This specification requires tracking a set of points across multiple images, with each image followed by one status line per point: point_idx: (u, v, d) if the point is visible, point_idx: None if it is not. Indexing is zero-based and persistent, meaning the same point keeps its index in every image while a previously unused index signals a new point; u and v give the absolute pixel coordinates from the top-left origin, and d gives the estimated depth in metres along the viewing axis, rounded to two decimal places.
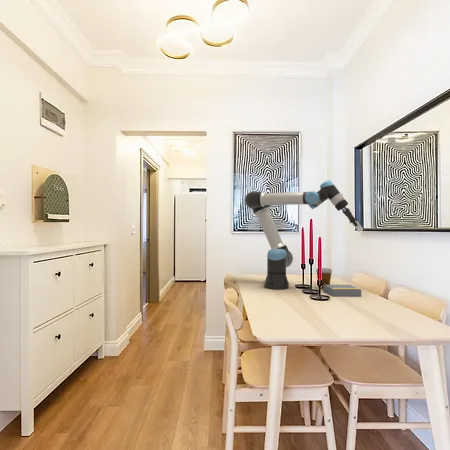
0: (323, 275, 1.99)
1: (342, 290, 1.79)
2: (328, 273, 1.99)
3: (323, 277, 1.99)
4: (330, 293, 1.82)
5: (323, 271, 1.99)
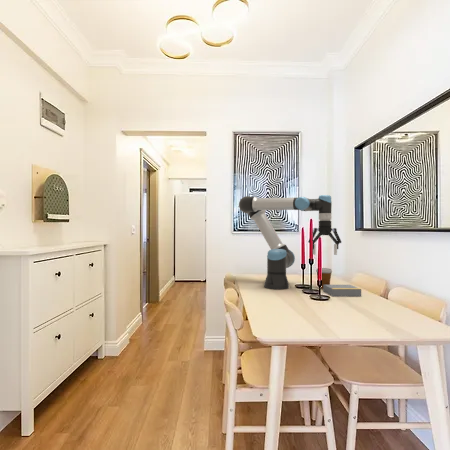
0: (323, 275, 1.99)
1: (342, 290, 1.79)
2: (328, 273, 1.99)
3: (323, 277, 1.99)
4: (330, 293, 1.82)
5: (323, 271, 1.99)
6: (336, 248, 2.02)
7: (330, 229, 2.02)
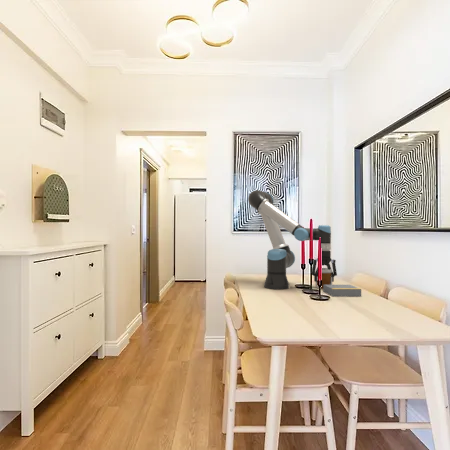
0: (323, 275, 1.99)
1: (342, 290, 1.79)
2: (328, 273, 1.99)
3: (323, 277, 1.99)
4: (330, 293, 1.82)
5: (323, 271, 1.99)
6: (331, 281, 2.02)
7: (329, 259, 2.02)
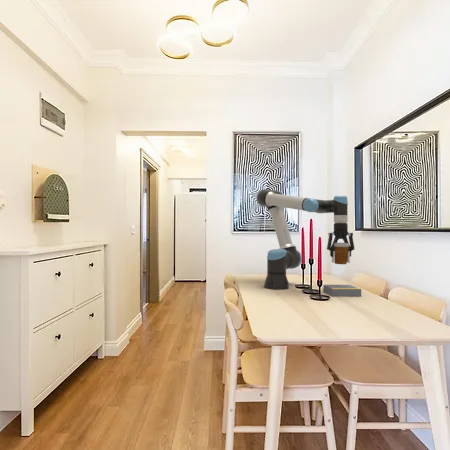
0: (340, 249, 1.84)
1: (342, 290, 1.79)
2: (345, 247, 1.84)
3: (340, 251, 1.84)
4: (330, 293, 1.82)
5: (340, 245, 1.84)
6: (349, 255, 1.87)
7: (346, 232, 1.87)
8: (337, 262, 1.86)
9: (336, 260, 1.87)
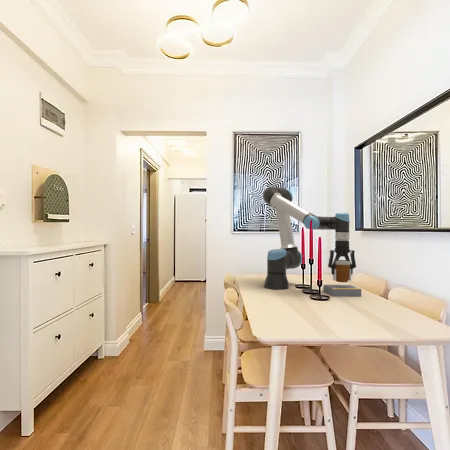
0: (341, 267, 1.83)
1: (342, 290, 1.79)
2: (347, 265, 1.82)
3: (341, 269, 1.83)
4: (330, 293, 1.82)
5: (341, 263, 1.82)
6: (350, 273, 1.85)
7: (348, 250, 1.86)
8: (338, 280, 1.84)
9: (337, 278, 1.85)
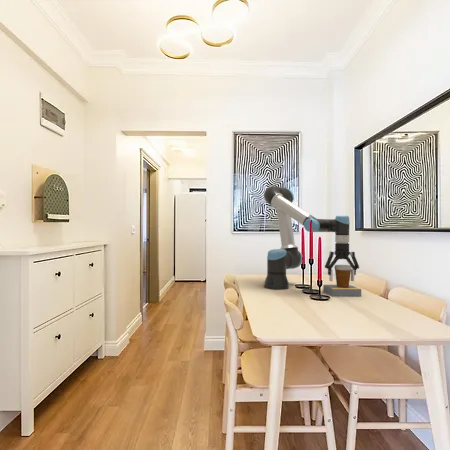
0: (342, 272, 1.83)
1: (342, 290, 1.79)
2: (348, 270, 1.83)
3: (342, 274, 1.83)
4: (330, 293, 1.82)
5: (342, 268, 1.82)
6: (353, 274, 1.86)
7: (348, 252, 1.86)
8: (339, 285, 1.85)
9: (338, 283, 1.85)
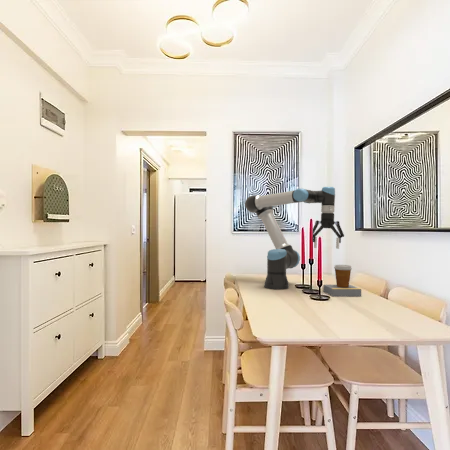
0: (342, 272, 1.83)
1: (342, 290, 1.79)
2: (348, 270, 1.83)
3: (342, 274, 1.83)
4: (330, 293, 1.82)
5: (342, 268, 1.83)
6: (338, 242, 1.96)
7: (333, 222, 1.96)
8: (339, 285, 1.85)
9: (338, 283, 1.85)
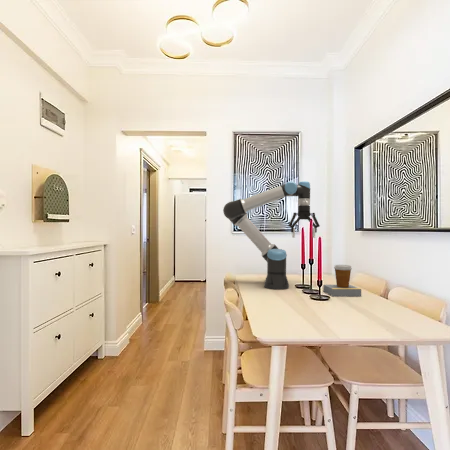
0: (342, 272, 1.83)
1: (342, 290, 1.79)
2: (348, 270, 1.83)
3: (342, 274, 1.83)
4: (330, 293, 1.82)
5: (342, 268, 1.82)
6: (314, 231, 2.15)
7: (309, 214, 2.15)
8: (339, 285, 1.85)
9: (338, 283, 1.85)
